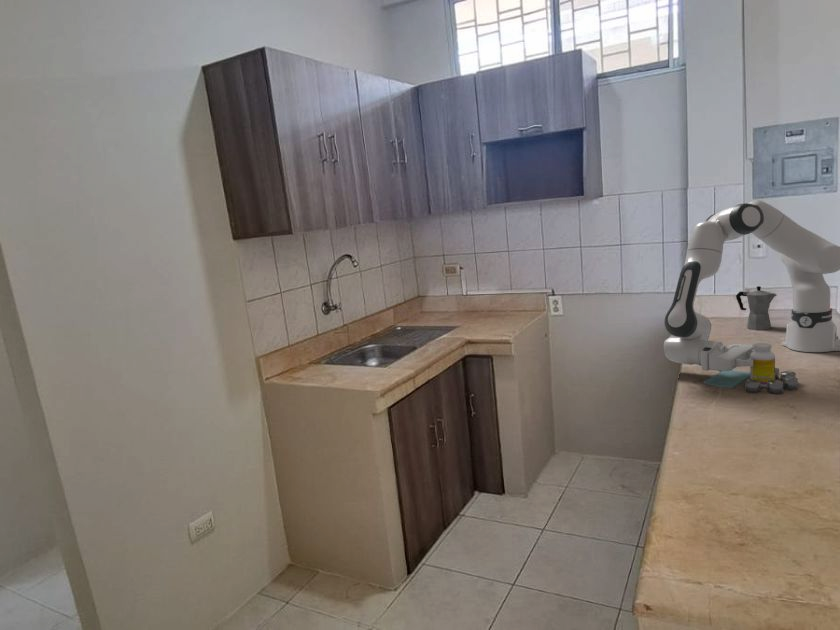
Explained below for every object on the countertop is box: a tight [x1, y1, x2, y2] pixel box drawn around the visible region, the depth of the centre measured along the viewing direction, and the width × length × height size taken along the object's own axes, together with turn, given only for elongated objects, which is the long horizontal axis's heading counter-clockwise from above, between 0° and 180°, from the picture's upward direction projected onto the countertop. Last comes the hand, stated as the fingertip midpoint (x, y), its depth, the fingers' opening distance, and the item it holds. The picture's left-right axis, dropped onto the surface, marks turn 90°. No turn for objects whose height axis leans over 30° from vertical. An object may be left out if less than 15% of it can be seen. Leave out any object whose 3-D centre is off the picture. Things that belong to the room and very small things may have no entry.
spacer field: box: [744, 367, 799, 395], centre depth 172 cm, size 19×12×3 cm, turn 130°
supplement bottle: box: [749, 342, 776, 388], centre depth 174 cm, size 7×7×13 cm
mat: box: [703, 369, 750, 389], centre depth 183 cm, size 16×9×1 cm, turn 130°
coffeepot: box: [735, 285, 778, 331], centre depth 240 cm, size 15×9×18 cm, turn 44°
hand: (759, 359), depth 175 cm, fingers open, 8 cm apart
